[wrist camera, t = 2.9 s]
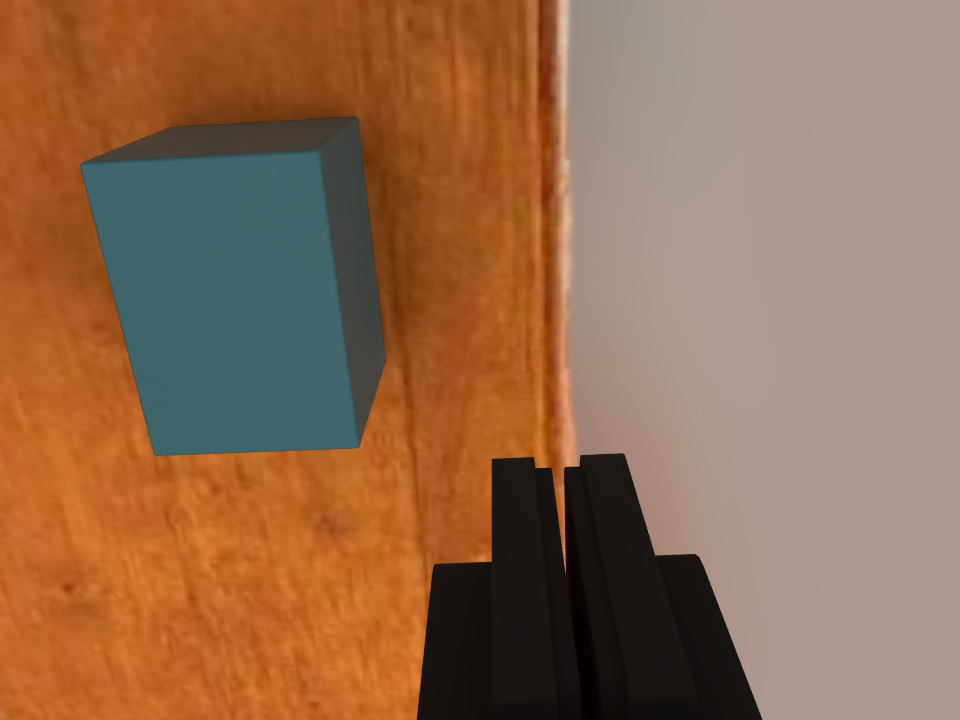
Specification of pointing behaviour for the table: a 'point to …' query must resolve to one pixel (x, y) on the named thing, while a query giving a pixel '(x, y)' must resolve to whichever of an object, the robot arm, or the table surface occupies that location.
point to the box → (244, 283)
